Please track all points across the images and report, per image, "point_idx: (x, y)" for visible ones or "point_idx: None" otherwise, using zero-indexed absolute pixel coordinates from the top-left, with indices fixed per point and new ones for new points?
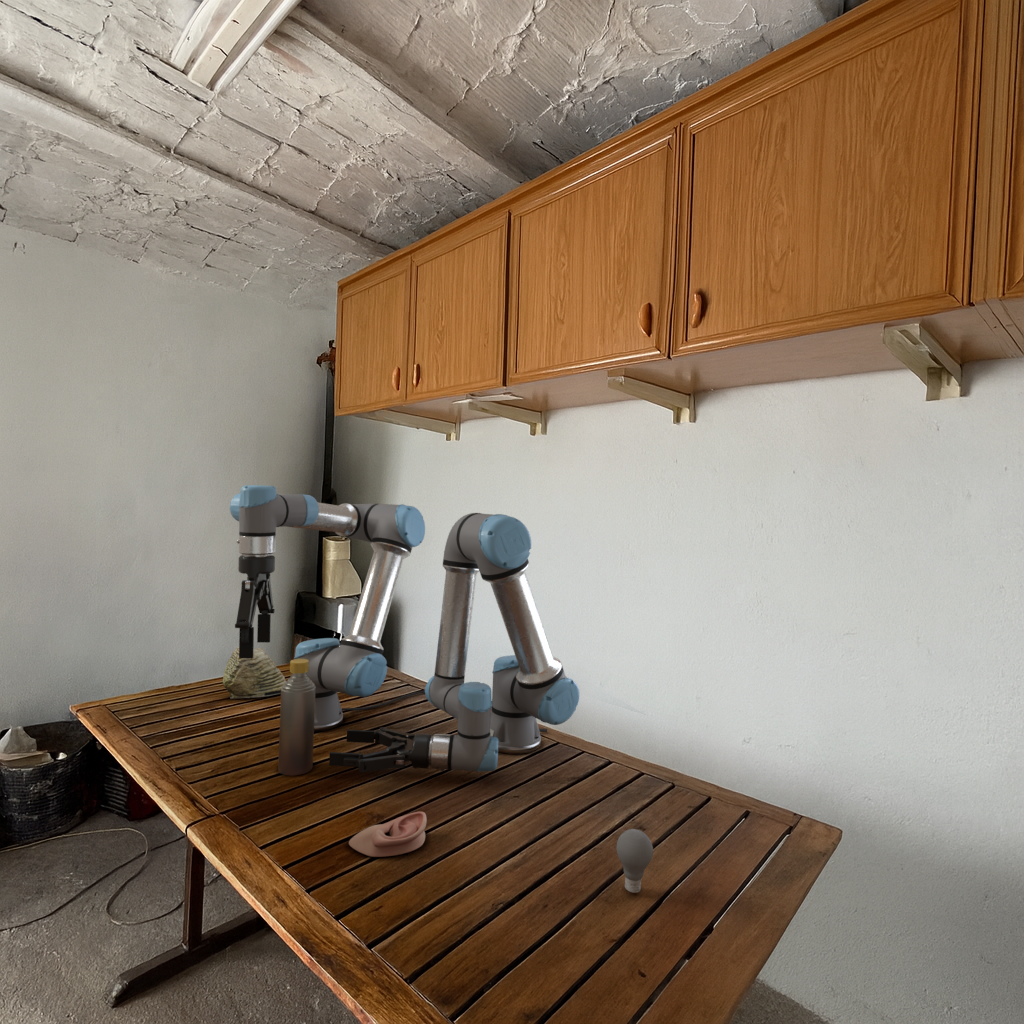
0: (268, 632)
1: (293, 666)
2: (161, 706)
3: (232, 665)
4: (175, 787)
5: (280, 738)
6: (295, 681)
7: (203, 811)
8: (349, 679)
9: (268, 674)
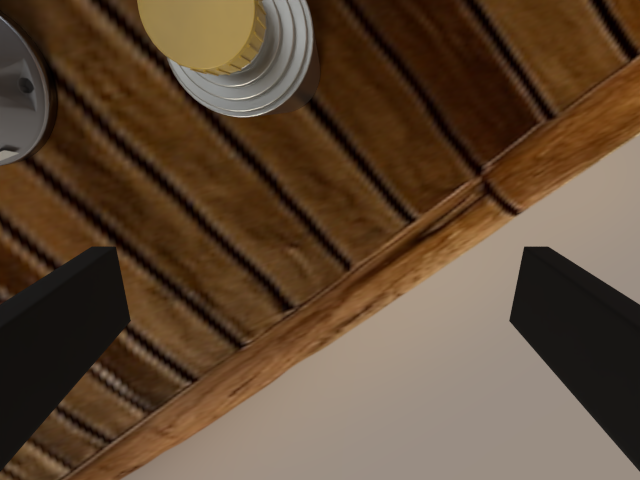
0: (70, 287)
1: (253, 40)
2: None
3: None
4: (365, 285)
5: (297, 105)
6: (273, 36)
7: (467, 207)
8: None
9: None
